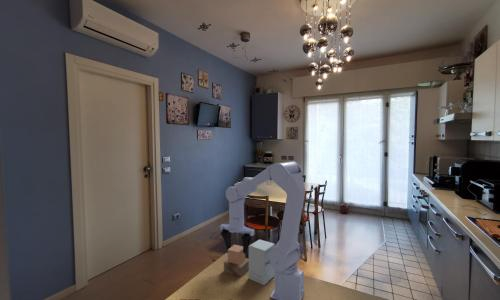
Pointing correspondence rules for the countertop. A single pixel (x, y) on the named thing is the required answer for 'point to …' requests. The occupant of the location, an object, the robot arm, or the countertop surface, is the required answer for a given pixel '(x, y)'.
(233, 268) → the walnut slab
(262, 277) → the supplement box
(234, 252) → the terracotta cube
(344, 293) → the countertop surface
